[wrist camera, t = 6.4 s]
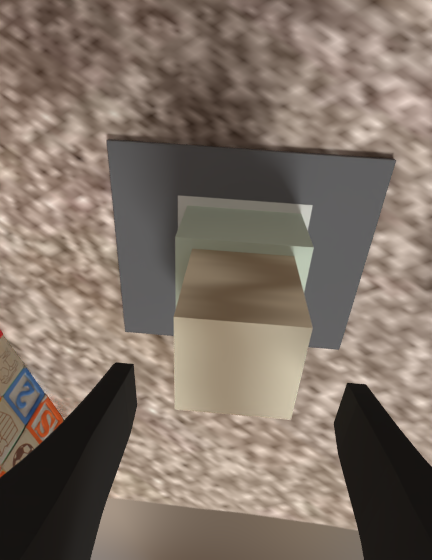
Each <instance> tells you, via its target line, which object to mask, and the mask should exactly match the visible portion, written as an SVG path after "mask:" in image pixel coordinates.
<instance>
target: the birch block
mask: <svg viewBox="0 0 432 560" xmlns="http://www.w3.org/2000/svg"><path fill="white" fill-rule="evenodd" d="M312 329H313V327H312V323H311V319H310V315H309V311H308V307H307V303H306V299H305V296H304V292H303V288H302V284H301V280H300V276H299V272H298V268H297V264H296V260H295V256H285V255H272V254H258V253H245V252H231V251H218V250H205V249H192V251H191V255H190V258H189V262H188V266H187V269H186V273H185V277H184V280H183V284H182V288H181V291H180V295H179V299H178V303H177V306H176V310H175V314H174V391H175V410H186V411H197V412H208V413H220V414H231V415H242V416H254V417H265V418H276V419H288V420H291V417H292V413H293V409H294V404H295V400H296V396H297V392H298V388H299V384H300V379H301V375H302V371H303V367H304V363H305V358H306V354H307V350H308V346H309V342H310V338H311V333H312Z"/></svg>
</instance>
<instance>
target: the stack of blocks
mask: <svg viewBox="0 0 432 560" xmlns="http://www.w3.org/2000/svg"><path fill="white" fill-rule="evenodd" d="M62 422H63V418H62V417H61V415H60V413H59V412H58V411H57V409H56V408H55V406H54V405H53V403H52V402H51V401H50V399H49V398H48V396H47V395H45V394H44V392H43V390H42V389H41V387H40V386H39V385H38V383H37V382H36V380H35V379H34V378H33V376H32V375H31V373H30V372H29V371H28V369H27V368H26V367H25V366H24V364H23V362H22V361H21V360H20V358H19V357H18V355H17V354H16V353H15V351H14V350H13V348H12V347H11V346H10V344H9V343H8V341H7V340H6V339H5V337H4V336H3V333H2V331H1V330H0V477H1V476H3V475H4V474H5V473H6V472H7V471H9V470H10V469H11V468H12V467H14V466H15V465H16V464H17V463H19V462H20V461H21V460H22V459H23V458H24V457H26V456H27V455H28V454H29V453H30V452H31V451H33V450H34V449H35V448H36V447H37V446H38V445H39V444H40V443H41V442H42V441H44V440H45V439H46V438H47V437H48V436H49V435H50V434H51V433H52V432H53V431H54V430H55V429H56V428H57V427H58V426H59V425H60V424H61V423H62Z"/></svg>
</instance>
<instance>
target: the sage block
mask: <svg viewBox="0 0 432 560" xmlns="http://www.w3.org/2000/svg"><path fill="white" fill-rule="evenodd" d="M192 249H205V250H218V251H231V252H245V253H258V254H272V255H285V256H295V260H296V264H297V268H298V272H299V276H300V280H301V284H302V288H303V292H304V291H305V286H306V282H307V277H308V272H309V268H310V263H311V258H312V253H313V249H314V247H313V244H312V241H311V239H310V236H309V233H308V230H307V228H306V225H305V222H304V220H303V217H302V214H298V213H284V212H270V211H256V210H243V209H229V208H215V207H201V206H188V205H187V208H186V210H185V213H184V215H183V218H182V221H181V223H180V226H179V228H178V231H177V234H176V236H175V288H176V306H177V303H178V299H179V295H180V291H181V288H182V284H183V280H184V277H185V273H186V269H187V266H188V262H189V258H190V255H191V251H192Z"/></svg>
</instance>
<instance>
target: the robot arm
mask: <svg viewBox="0 0 432 560" xmlns="http://www.w3.org/2000/svg"><path fill="white" fill-rule="evenodd" d="M136 408H137V398H136V386H135V375H134V364H127V363H115V364H113V365H112V366H111V368H110V369H109V370H108V372H107V373H106V374H105V375H104V376H103V378H102V379H101V380H100V381H99V382H98V384H97V385H96V386H95V387H94V388H93V390H92V391H91V392H90V393H89V394H88V395H87V396H86V397H85V399H84V400H83V401H82V402H81V403H80V404H79V405H78V406H77V407H76V408H75V410H74V411H73V412H72V413H71V414H70V415H69V416H68V417H67V418H66V419H65V420H64V421H63V422H62V423H61V424H60V425H59V426H58V427H57V428H56V429H55V430H54V431H53V432H52V433H51V434H50V435H49V436H48V437H47V438H46V439H45V440H44V441H42V442H41V443H40V444H39V445H38V446H37V447H36V448H35V449H34V450H33V451H31V452H30V453H29V454H28V455H27V456H26V457H24V458H23V459H22V460H21V461H20V462H19V463H17V464H16V465H15V466H14V467H12V468H11V469H10V470H9V471H7V472H6V473H5V474H4V475H3V476H1V477H0V560H90V558H91V554H92V550H93V546H94V543H95V539H96V535H97V531H98V528H99V524H100V520H101V516H102V513H103V510H104V507H105V504H106V501H107V498H108V495H109V492H110V489H111V487H112V484H113V481H114V478H115V476H116V473H117V470H118V467H119V464H120V462H121V459H122V456H123V453H124V450H125V448H126V445H127V442H128V439H129V436H130V433H131V429H132V425H133V421H134V417H135V412H136ZM334 428H335V436H336V443H337V449H338V455H339V459H340V463H341V467H342V471H343V474H344V478H345V482H346V486H347V489H348V493H349V497H350V500H351V504H352V508H353V512H354V515H355V519H356V523H357V527H358V531H359V535H360V539H361V545H362V550H363V556H364V560H432V467H431V466H430V465H429V463H428V462H427V461H426V460H425V459H424V458H423V457H422V455H421V454H420V453H419V452H418V451H417V449H416V448H415V447H414V446H413V445H412V443H411V442H410V441H409V440H408V438H407V437H406V436H405V435H404V433H403V432H402V431H401V430H400V429H399V427H398V426H397V425H396V423H395V422H394V421H393V420H392V418H391V417H390V416H389V414H388V413H387V412H386V410H385V409H384V408H383V406H382V405H381V404H380V402H379V401H378V400H377V398H376V397H375V396H374V394H373V393H372V392H371V390H370V389H369V388H368V387H367V385H366V384H354V383H347V385H346V388H345V391H344V394H343V397H342V400H341V403H340V406H339V409H338V412H337V415H336V418H335V421H334Z"/></svg>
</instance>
